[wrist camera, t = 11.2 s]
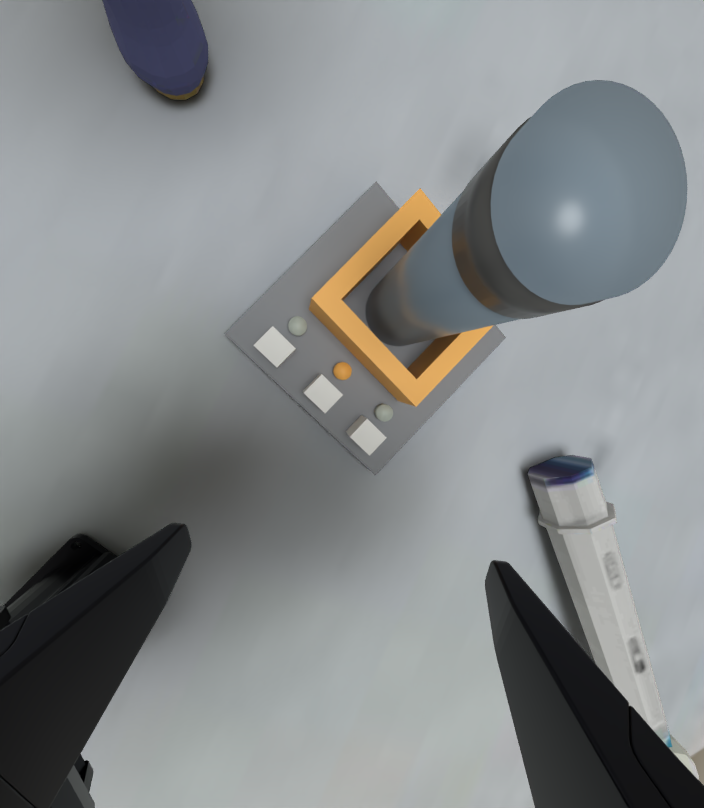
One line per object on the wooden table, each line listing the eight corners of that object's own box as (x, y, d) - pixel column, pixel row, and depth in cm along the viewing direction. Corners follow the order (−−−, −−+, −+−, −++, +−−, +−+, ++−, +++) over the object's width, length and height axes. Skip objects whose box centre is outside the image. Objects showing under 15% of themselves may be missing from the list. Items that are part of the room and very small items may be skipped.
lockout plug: (421, 354, 20) (653, 326, 7) (357, 336, 19) (481, 265, 6) (439, 288, 19) (714, 128, 7) (374, 266, 19) (543, 39, 6)
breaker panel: (370, 469, 21) (388, 494, 17) (228, 336, 19) (209, 327, 15) (494, 339, 22) (541, 332, 18) (371, 192, 19) (392, 145, 15)
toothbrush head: (621, 457, 20) (744, 824, 21) (544, 445, 27) (639, 723, 27) (548, 488, 19) (678, 866, 20) (488, 468, 26) (586, 753, 27)
